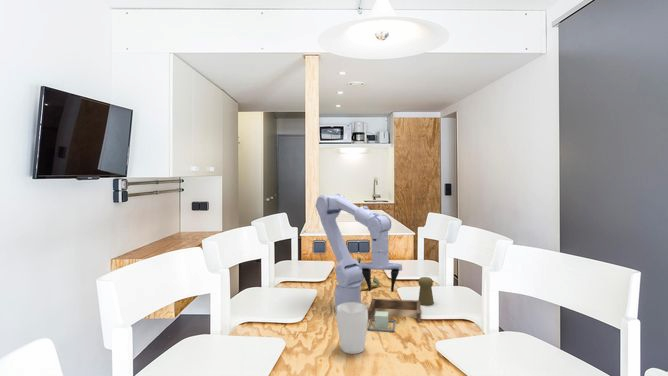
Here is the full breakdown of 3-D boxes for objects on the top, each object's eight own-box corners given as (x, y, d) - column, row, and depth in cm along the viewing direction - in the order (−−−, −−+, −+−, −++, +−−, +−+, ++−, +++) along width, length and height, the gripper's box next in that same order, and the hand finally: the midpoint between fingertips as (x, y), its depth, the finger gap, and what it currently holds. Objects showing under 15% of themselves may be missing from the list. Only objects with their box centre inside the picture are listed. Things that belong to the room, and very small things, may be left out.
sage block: (375, 331, 117) (374, 315, 117) (376, 326, 121) (375, 311, 121) (387, 332, 116) (387, 316, 116) (388, 327, 120) (388, 311, 120)
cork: (435, 310, 134) (434, 280, 134) (417, 309, 136) (417, 279, 135) (434, 304, 140) (433, 275, 140) (417, 304, 142) (417, 275, 141)
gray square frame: (367, 335, 115) (367, 329, 115) (370, 324, 123) (370, 318, 123) (394, 337, 113) (394, 330, 113) (395, 326, 121) (395, 320, 121)
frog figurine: (383, 291, 158) (378, 257, 157) (341, 296, 159) (336, 262, 159) (382, 284, 168) (377, 252, 167) (342, 289, 169) (337, 257, 168)
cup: (335, 342, 111) (334, 302, 110) (365, 340, 112) (364, 301, 111) (338, 357, 102) (337, 314, 101) (371, 355, 103) (370, 312, 102)
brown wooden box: (368, 323, 124) (368, 310, 124) (372, 310, 136) (372, 298, 136) (420, 326, 120) (420, 313, 120) (420, 313, 132) (420, 300, 132)
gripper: (357, 253, 125) (358, 293, 125) (401, 254, 121) (402, 295, 122) (360, 249, 132) (361, 287, 132) (402, 249, 128) (403, 288, 129)
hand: (381, 290), depth 127 cm, fingers open, 7 cm apart
